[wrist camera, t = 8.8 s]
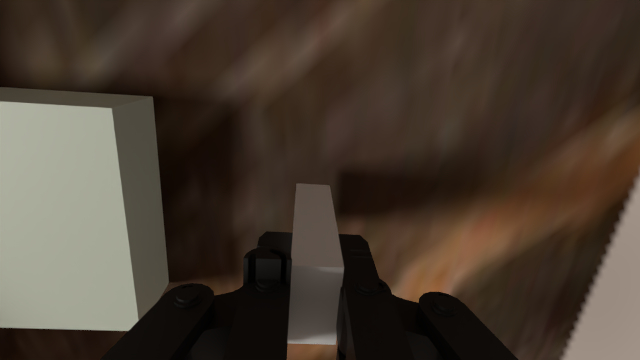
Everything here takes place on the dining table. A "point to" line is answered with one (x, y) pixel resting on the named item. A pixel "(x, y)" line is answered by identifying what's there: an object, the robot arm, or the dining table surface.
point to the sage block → (79, 210)
